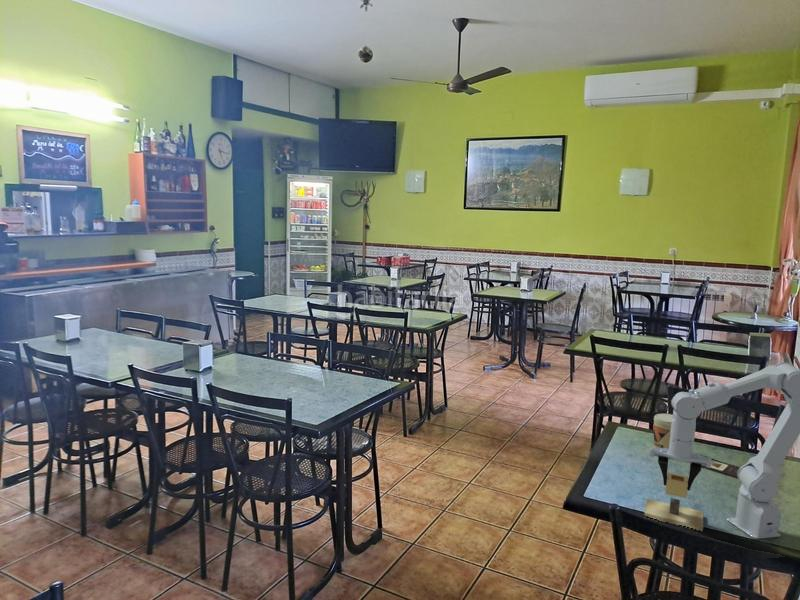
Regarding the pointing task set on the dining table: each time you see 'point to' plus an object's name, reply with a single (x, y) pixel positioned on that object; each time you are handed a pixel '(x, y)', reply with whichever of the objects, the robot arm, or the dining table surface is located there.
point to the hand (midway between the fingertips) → (676, 486)
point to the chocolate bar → (723, 468)
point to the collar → (677, 485)
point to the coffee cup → (662, 430)
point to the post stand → (674, 514)
